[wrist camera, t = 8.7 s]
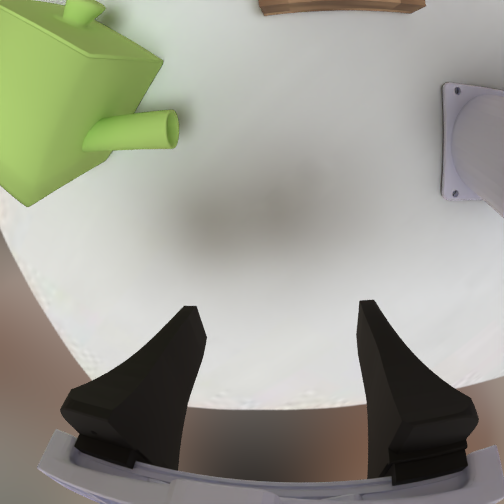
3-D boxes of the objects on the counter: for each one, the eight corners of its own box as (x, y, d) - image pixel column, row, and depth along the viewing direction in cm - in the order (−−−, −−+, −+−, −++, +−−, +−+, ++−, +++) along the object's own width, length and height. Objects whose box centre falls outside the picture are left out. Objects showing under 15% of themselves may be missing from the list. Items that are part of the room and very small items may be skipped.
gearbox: (238, 80, 17) (201, 77, 9) (155, 194, 22) (88, 263, 14) (59, -21, 13) (-28, -36, 5) (7, 82, 17) (-78, 104, 9)
